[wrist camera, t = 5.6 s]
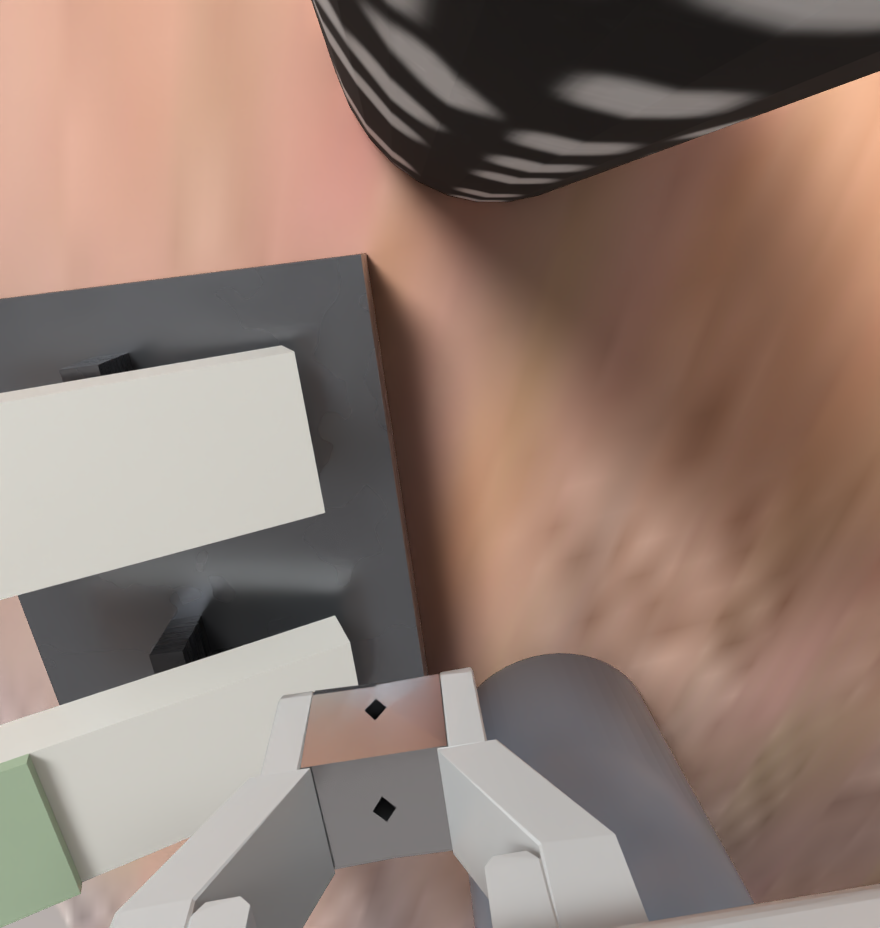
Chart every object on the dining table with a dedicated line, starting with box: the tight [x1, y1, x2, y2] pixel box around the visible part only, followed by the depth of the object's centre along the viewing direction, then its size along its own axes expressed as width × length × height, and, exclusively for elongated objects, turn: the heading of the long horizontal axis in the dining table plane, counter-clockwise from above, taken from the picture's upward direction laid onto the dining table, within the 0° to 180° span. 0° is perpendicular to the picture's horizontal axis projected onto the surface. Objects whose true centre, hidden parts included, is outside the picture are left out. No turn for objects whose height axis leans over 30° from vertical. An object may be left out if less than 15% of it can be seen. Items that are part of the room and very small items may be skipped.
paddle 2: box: [0, 616, 358, 928], centre depth 15 cm, size 9×4×2 cm, turn 96°
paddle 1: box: [0, 345, 325, 600], centre depth 13 cm, size 9×4×2 cm, turn 96°
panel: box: [0, 253, 428, 705], centre depth 17 cm, size 10×14×5 cm
